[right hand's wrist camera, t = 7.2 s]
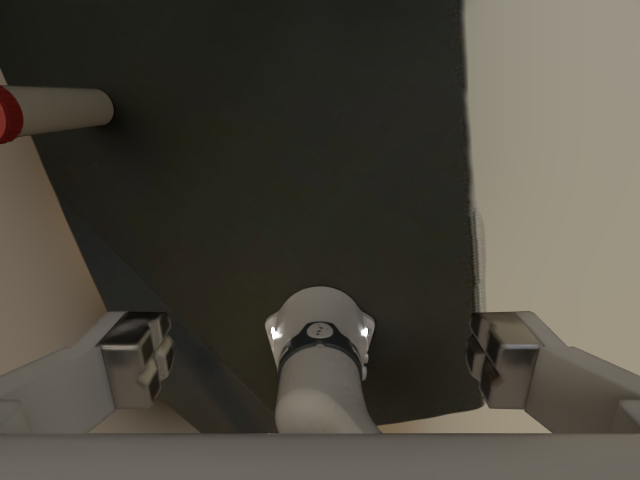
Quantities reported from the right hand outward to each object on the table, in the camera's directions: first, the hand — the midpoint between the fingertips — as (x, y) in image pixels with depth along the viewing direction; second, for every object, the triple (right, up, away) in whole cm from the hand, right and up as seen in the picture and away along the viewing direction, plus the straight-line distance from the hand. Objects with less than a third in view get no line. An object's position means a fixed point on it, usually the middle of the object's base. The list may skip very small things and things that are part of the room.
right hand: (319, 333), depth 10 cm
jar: (-32, +21, +43) cm, 58 cm away
